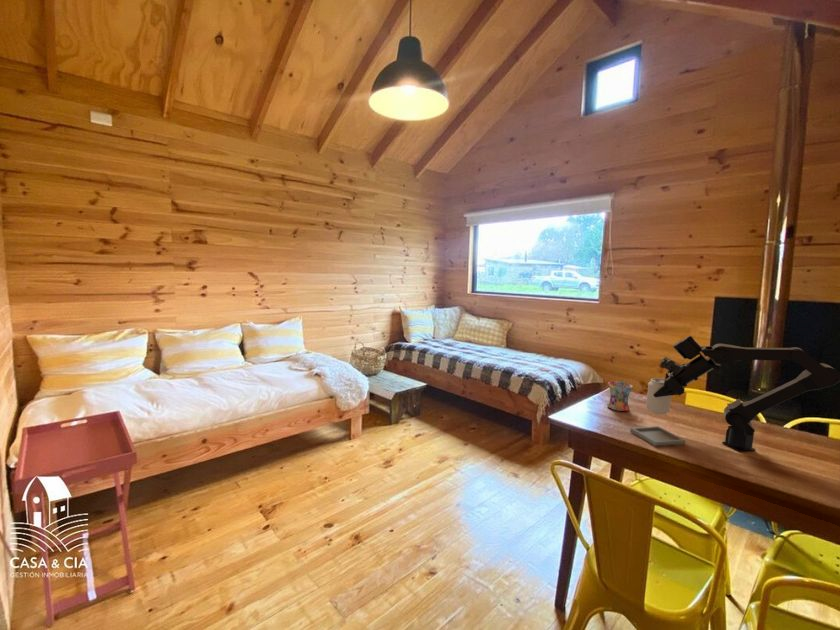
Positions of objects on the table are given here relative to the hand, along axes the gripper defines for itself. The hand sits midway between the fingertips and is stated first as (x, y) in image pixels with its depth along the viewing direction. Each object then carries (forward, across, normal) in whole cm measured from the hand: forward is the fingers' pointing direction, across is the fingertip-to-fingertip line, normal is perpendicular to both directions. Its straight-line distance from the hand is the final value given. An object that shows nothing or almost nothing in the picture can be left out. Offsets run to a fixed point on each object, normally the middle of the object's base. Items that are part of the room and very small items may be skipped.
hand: (654, 393), depth 143 cm
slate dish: (+8, +9, +11) cm, 16 cm away
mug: (+19, -15, 0) cm, 24 cm away
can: (+4, 0, +6) cm, 7 cm away
